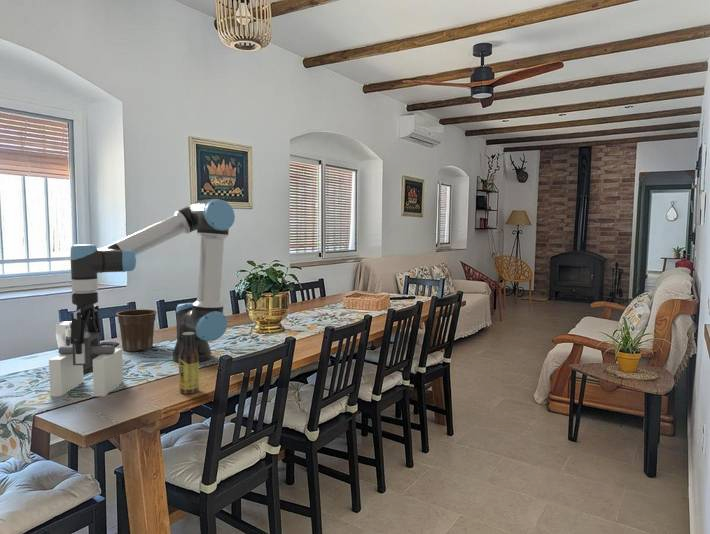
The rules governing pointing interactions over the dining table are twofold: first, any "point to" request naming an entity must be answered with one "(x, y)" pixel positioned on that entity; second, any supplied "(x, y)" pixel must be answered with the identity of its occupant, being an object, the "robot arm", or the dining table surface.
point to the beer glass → (63, 333)
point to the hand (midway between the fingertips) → (87, 359)
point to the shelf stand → (70, 375)
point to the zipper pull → (90, 367)
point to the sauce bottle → (188, 365)
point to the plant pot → (137, 329)
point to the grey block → (88, 347)
